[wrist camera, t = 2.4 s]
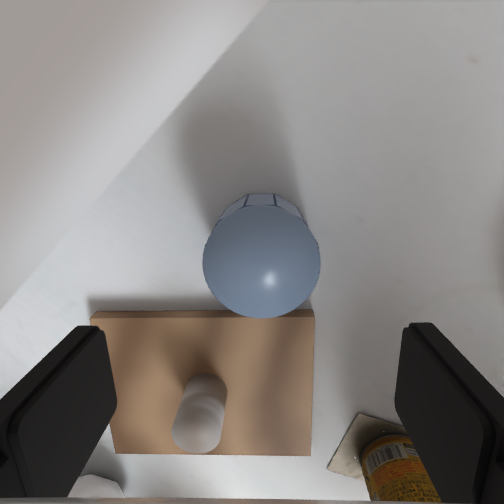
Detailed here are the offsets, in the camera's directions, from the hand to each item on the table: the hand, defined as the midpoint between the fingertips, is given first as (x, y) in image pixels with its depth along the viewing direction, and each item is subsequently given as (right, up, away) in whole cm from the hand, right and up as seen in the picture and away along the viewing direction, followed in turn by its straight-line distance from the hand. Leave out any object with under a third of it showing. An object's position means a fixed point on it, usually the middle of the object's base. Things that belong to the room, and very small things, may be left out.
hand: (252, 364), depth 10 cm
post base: (-4, -8, +19) cm, 21 cm away
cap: (+1, +4, +15) cm, 16 cm away
